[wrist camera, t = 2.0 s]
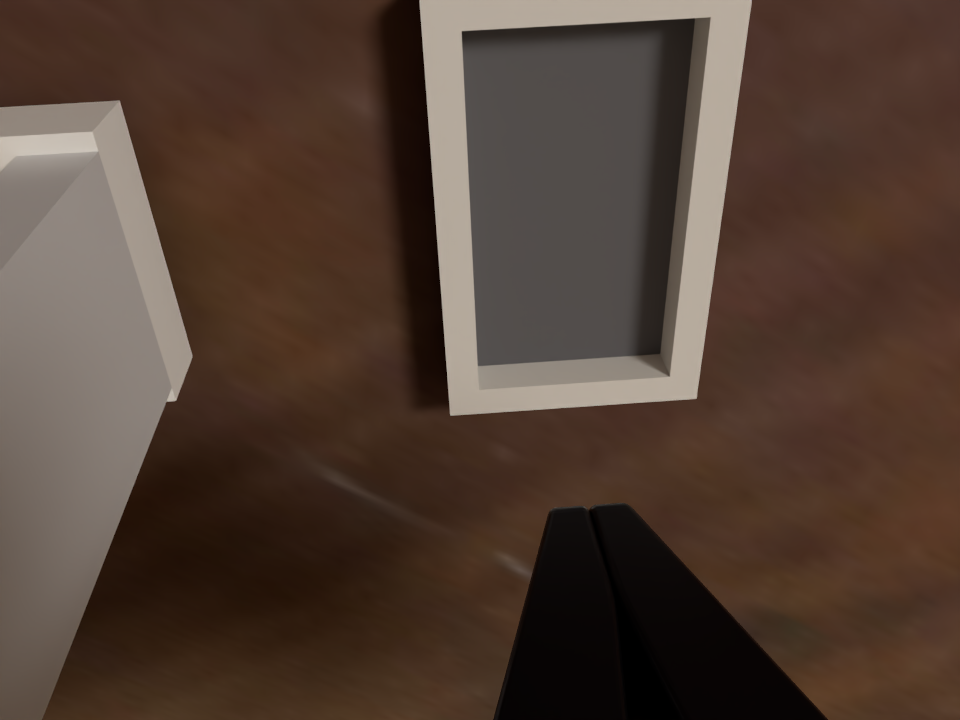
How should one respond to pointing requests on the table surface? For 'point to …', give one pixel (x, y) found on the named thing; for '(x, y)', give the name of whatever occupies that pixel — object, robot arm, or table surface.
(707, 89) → the tray
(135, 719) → the table surface
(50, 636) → the white l-shaped base
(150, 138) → the table surface
